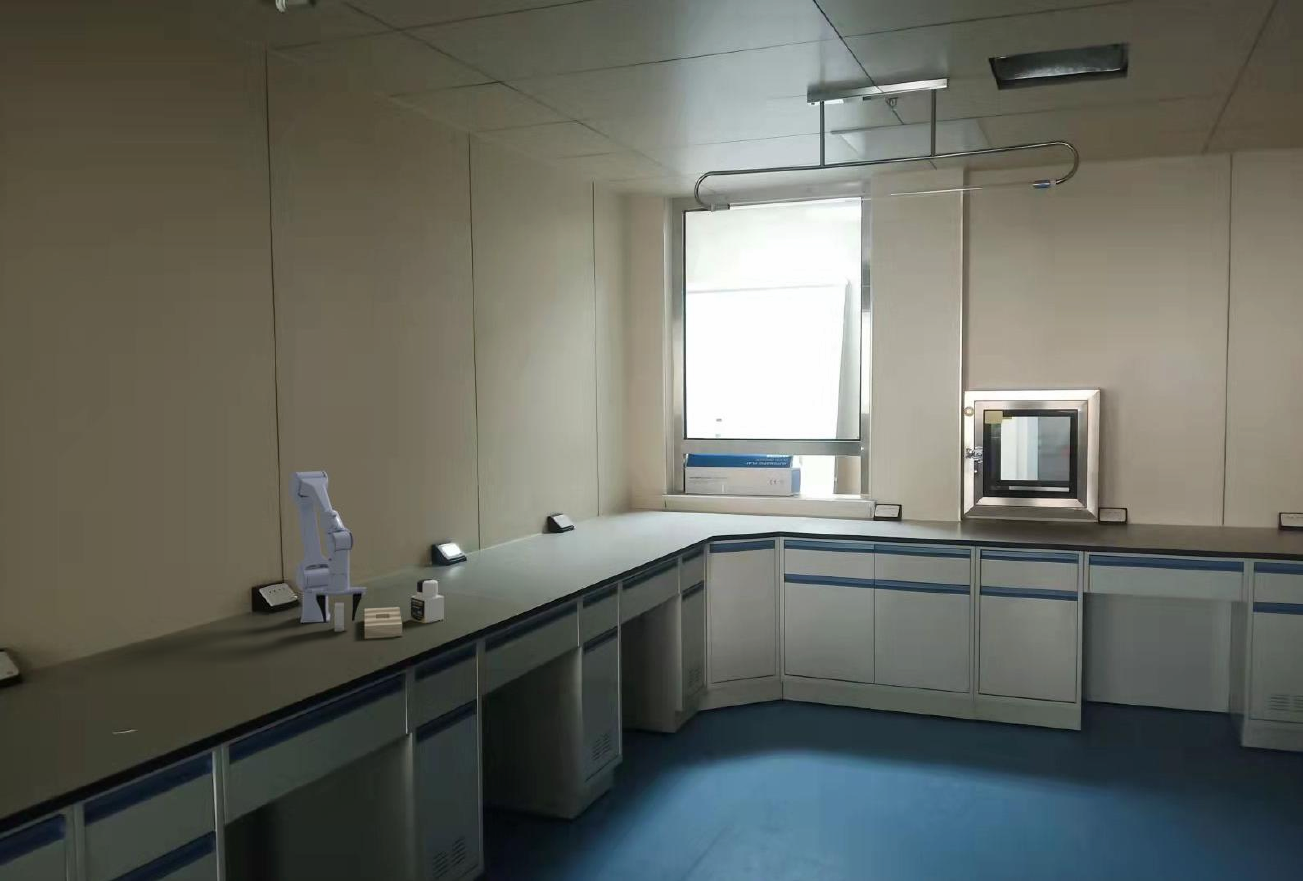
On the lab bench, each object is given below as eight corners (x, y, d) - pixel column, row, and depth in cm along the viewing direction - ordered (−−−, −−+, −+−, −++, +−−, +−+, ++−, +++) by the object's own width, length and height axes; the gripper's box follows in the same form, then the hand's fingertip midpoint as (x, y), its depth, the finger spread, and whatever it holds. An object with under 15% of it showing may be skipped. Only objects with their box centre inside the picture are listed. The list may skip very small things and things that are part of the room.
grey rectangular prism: (335, 626, 289) (335, 602, 289) (343, 626, 290) (343, 602, 289) (334, 632, 282) (334, 608, 282) (343, 632, 283) (343, 607, 283)
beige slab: (364, 620, 298) (364, 608, 297) (399, 618, 300) (399, 607, 300) (364, 638, 276) (364, 625, 276) (402, 636, 279) (402, 623, 279)
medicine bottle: (410, 619, 299) (410, 579, 299) (430, 615, 305) (430, 576, 304) (424, 623, 295) (424, 583, 294) (444, 619, 300) (444, 580, 299)
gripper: (311, 576, 279) (311, 625, 280) (365, 574, 283) (365, 622, 284) (312, 572, 286) (312, 619, 287) (365, 570, 290) (365, 616, 291)
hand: (339, 620), depth 286 cm, fingers open, 7 cm apart
